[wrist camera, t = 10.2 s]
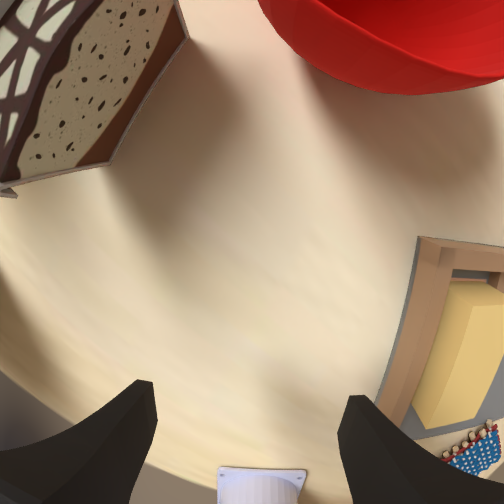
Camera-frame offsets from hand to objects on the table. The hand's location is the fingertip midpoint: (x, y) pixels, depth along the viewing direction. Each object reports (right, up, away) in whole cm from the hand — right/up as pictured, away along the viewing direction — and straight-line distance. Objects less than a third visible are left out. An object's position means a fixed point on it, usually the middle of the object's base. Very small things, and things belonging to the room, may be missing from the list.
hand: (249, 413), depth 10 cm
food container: (-9, +17, +6) cm, 20 cm away
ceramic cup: (+8, +21, +5) cm, 23 cm away
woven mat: (+24, -18, +13) cm, 32 cm away
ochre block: (+14, 0, +9) cm, 17 cm away
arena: (+19, -3, +10) cm, 21 cm away
